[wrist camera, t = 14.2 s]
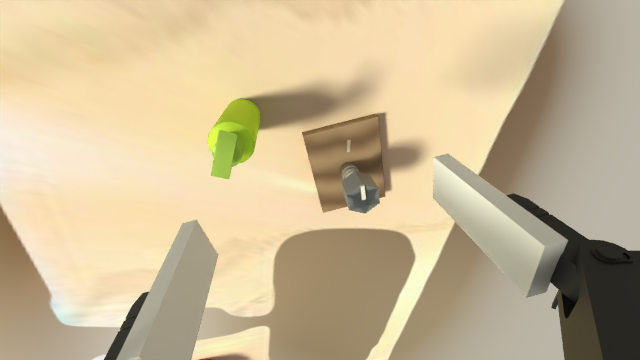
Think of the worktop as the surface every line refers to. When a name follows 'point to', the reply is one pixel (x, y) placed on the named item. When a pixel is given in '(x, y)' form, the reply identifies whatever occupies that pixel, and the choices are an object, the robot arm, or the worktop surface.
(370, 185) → the knob
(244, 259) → the worktop surface
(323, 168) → the wooden board with bolt
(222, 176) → the soap dispenser
